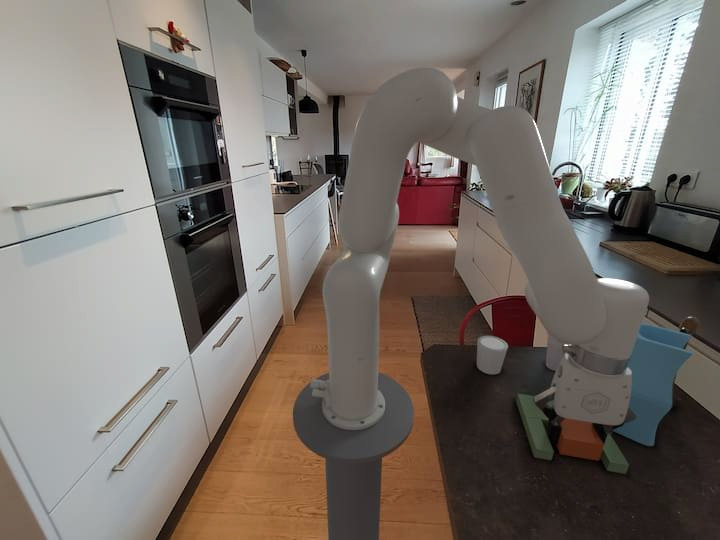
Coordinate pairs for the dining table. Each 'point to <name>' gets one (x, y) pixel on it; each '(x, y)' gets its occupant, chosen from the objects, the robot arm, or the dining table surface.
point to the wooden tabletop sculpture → (687, 327)
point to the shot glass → (490, 354)
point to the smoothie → (554, 353)
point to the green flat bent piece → (541, 444)
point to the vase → (653, 379)
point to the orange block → (579, 440)
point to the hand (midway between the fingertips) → (573, 440)
